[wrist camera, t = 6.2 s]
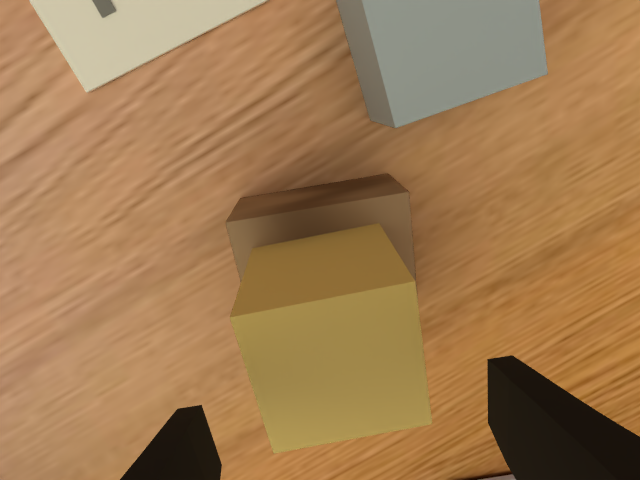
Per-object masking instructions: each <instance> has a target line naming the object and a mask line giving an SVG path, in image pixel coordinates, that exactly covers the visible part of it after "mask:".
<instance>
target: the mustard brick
mask: <svg viewBox="0 0 640 480" xmlns="http://www.w3.org/2000/svg"><path fill="white" fill-rule="evenodd" d="M230 320H231V323H232V326H233V329H234V332H235V335H236V338H237V341H238V345H239V348H240V351H241V354H242V357H243V360H244V363H245V366H246V369H247V373H248V376H249V379H250V382H251V385H252V388H253V391H254V394H255V397H256V400H257V404H258V407H259V410H260V413H261V416H262V419H263V422H264V425H265V428H266V431H267V435H268V438H269V441H270V444H271V447H272V450H273V453H280V452H285V451H290V450H296V449H301V448H306V447H312V446H317V445H323V444H328V443H333V442H339V441H344V440H349V439H355V438H360V437H366V436H371V435H376V434H382V433H387V432H392V431H398V430H403V429H409V428H414V427H419V426H425V425H430V424H432V418H431V409H430V401H429V393H428V384H427V376H426V367H425V359H424V351H423V342H422V334H421V325H420V317H419V309H418V300H417V292H416V283H415V280H414V278H413V277H412V275H411V274H410V272H409V270H408V269H407V267H406V266H405V264H404V262H403V261H402V259H401V258H400V256H399V254H398V253H397V251H396V250H395V248H394V246H393V245H392V243H391V241H390V240H389V238H388V237H387V235H386V233H385V232H384V230H383V229H382V227H381V225H380V224H379V223H377V224H372V225H367V226H362V227H357V228H352V229H347V230H342V231H337V232H332V233H327V234H322V235H317V236H312V237H307V238H302V239H297V240H292V241H287V242H282V243H277V244H272V245H267V246H262V247H257V248H252V251H251V254H250V257H249V260H248V263H247V266H246V269H245V272H244V275H243V278H242V281H241V284H240V288H239V291H238V294H237V297H236V300H235V303H234V306H233V309H232V312H231V315H230Z"/></svg>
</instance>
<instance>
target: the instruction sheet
mask: <svg viewBox="0 0 640 480" xmlns="http://www.w3.org/2000/svg"><path fill="white" fill-rule="evenodd" d="M29 1H30V2H31V4H32V6H33V7H34V9H35V11H36V12H37V14H38V15H39V17H40V19H41V20H42V22H43V23H44V25H45V27H46V28H47V30H48V31H49V33H50V35H51V36H52V38H53V39H54V41H55V43H56V44H57V46H58V48H59V49H60V51H61V52H62V54H63V56H64V57H65V59H66V60H67V62H68V64H69V65H70V67H71V68H72V70H73V72H74V73H75V75H76V76H77V78H78V80H79V81H80V83H81V84H82V86H83V88H84V89H85V91H86V93H89V92H91V91H93V90H95V89H97V88H99V87H101V86H103V85H105V84H107V83H109V82H111V81H113V80H115V79H117V78H119V77H121V76H123V75H124V74H126V73H128V72H130V71H132V70H134V69H136V68H138V67H140V66H142V65H144V64H146V63H148V62H150V61H152V60H154V59H156V58H158V57H160V56H162V55H164V54H166V53H167V52H169V51H171V50H173V49H175V48H177V47H179V46H181V45H183V44H185V43H187V42H189V41H191V40H193V39H195V38H197V37H199V36H201V35H203V34H205V33H207V32H209V31H211V30H212V29H214V28H216V27H218V26H220V25H222V24H224V23H226V22H228V21H230V20H232V19H234V18H236V17H238V16H240V15H242V14H244V13H246V12H248V11H250V10H252V9H254V8H256V7H257V6H259V5H261V4H263V3H265V2H267V1H269V0H29Z"/></svg>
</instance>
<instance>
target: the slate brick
mask: <svg viewBox="0 0 640 480" xmlns="http://www.w3.org/2000/svg"><path fill="white" fill-rule="evenodd" d="M336 2H337V5H338V9H339V12H340V16H341V19H342V23H343V26H344V30H345V34H346V37H347V41H348V44H349V48H350V51H351V55H352V58H353V62H354V65H355V69H356V72H357V76H358V79H359V83H360V86H361V90H362V93H363V97H364V100H365V104H366V107H367V111H368V114H369V118H370V120H371V121H374V122H377V123H380V124H384V125H387V126H390V127H393V128H398V127H400V126H403V125H406V124H409V123H412V122H415V121H417V120H420V119H423V118H426V117H429V116H431V115H434V114H437V113H440V112H443V111H445V110H448V109H451V108H454V107H457V106H459V105H462V104H465V103H468V102H471V101H474V100H476V99H479V98H482V97H485V96H488V95H490V94H493V93H496V92H499V91H502V90H504V89H507V88H510V87H513V86H516V85H518V84H521V83H524V82H527V81H530V80H533V79H535V78H538V77H541V76H544V75H547V74H548V71H547V63H546V54H545V46H544V38H543V30H542V21H541V13H540V5H539V0H336Z"/></svg>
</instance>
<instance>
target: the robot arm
mask: <svg viewBox="0 0 640 480" xmlns="http://www.w3.org/2000/svg"><path fill="white" fill-rule="evenodd" d="M488 424H489V426H490V428H491V430H492V433H493V435H494V437H495V439H496V442H497V444H498V446H499V448H500V450H501V452H502V454H503V457H504V459H505V461H506V463H507V465H508V467H509V468H510V470H511V472H512V474H511V475H505V476H498V477H492V478H485V479H479V480H640V437H639V436H637V435H636V434H634V433H632V432H631V431H629V430H627V429H625V428H624V427H622V426H621V425H619V424H617V423H616V422H614V421H612V420H611V419H609V418H607V417H606V416H604V415H603V414H601V413H599V412H598V411H596V410H595V409H593V408H591V407H590V406H588V405H587V404H585V403H584V402H582V401H580V400H579V399H577V398H576V397H574V396H573V395H571V394H570V393H568V392H567V391H565V390H564V389H562V388H561V387H559V386H558V385H556V384H555V383H553V382H552V381H550V380H549V379H547V378H546V377H544V376H543V375H541V374H540V373H538V372H537V371H535V370H534V369H532V368H531V367H529V366H528V365H526V364H525V363H523V362H522V361H520V360H518V359H517V358H515V357H514V356H506V357H499V358H493V359H488ZM221 466H222V464H221V461H220V458H219V455H218V452H217V449H216V446H215V443H214V441H213V438H212V435H211V432H210V429H209V426H208V423H207V420H206V417H205V414H204V411H203V408H202V405H199V406H192V407H186V408H180V409H177V410H176V411H175V413H174V414H173V415H172V416H171V417H170V419H169V420H168V421H167V422H166V424H165V425H164V426H163V427H162V429H161V430H160V431H159V432H158V434H157V435H156V436H155V437H154V439H153V440H152V441H151V442H150V444H149V445H148V446H147V447H146V449H145V450H144V451H143V452H142V454H141V455H140V456H139V457H138V458H137V460H136V461H135V462H134V463H133V465H132V466H131V467H130V468H129V469H128V471H127V472H126V473H125V474H124V475H123V477H122V478H121V479H120V480H220V476H221Z"/></svg>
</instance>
